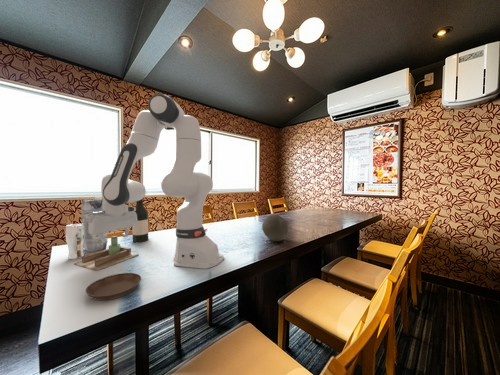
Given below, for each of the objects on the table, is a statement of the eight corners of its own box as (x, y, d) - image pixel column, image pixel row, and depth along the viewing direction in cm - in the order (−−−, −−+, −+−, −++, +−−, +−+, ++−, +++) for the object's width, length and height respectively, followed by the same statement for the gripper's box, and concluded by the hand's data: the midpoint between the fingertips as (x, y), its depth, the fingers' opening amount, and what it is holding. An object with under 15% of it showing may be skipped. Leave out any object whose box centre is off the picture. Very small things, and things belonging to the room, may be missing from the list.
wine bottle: (151, 238, 123) (150, 189, 122) (142, 242, 115) (141, 190, 114) (138, 238, 124) (137, 189, 123) (129, 242, 116) (127, 190, 115)
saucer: (134, 275, 75) (134, 268, 75) (147, 291, 64) (147, 283, 64) (83, 290, 65) (83, 282, 65) (88, 312, 54) (87, 302, 54)
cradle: (138, 255, 95) (138, 247, 95) (96, 270, 79) (96, 261, 79) (117, 250, 102) (116, 243, 102) (74, 264, 85) (74, 255, 85)
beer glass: (89, 255, 96) (88, 224, 95) (72, 260, 89) (71, 227, 89) (80, 253, 98) (78, 223, 98) (62, 258, 92) (61, 226, 91)
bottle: (122, 254, 94) (122, 236, 94) (112, 258, 90) (112, 238, 90) (116, 253, 96) (116, 235, 96) (106, 256, 92) (106, 237, 92)
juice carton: (87, 253, 98) (85, 198, 97) (81, 249, 104) (79, 197, 103) (109, 248, 105) (107, 197, 104) (101, 245, 111) (100, 196, 110)
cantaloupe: (272, 236, 125) (272, 212, 125) (292, 241, 116) (292, 215, 115) (257, 241, 115) (257, 215, 115) (277, 247, 106) (277, 218, 105)
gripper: (93, 213, 82) (94, 247, 82) (138, 207, 100) (140, 234, 101) (84, 212, 84) (85, 245, 85) (130, 206, 103) (131, 233, 103)
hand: (115, 239), depth 93 cm, fingers open, 8 cm apart
